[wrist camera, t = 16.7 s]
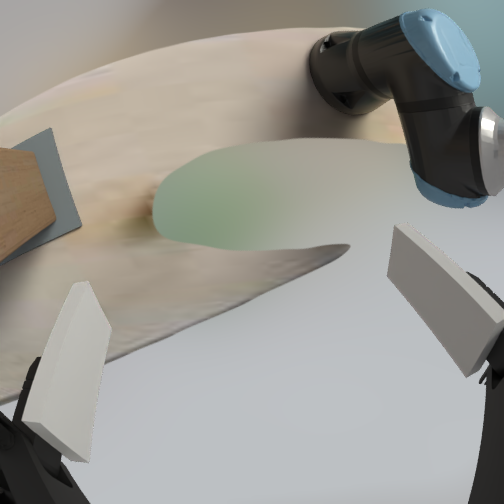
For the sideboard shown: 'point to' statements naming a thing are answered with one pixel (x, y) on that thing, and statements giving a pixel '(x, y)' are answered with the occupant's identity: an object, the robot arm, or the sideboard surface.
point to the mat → (50, 191)
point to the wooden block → (21, 200)
